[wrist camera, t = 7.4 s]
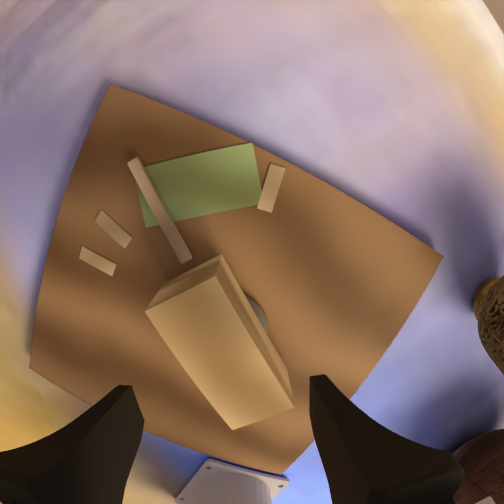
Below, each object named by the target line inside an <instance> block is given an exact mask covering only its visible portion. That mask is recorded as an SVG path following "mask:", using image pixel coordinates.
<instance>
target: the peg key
mask: <svg viewBox="0 0 504 504" xmlns="http://www.w3.org/2000/svg"><path fill="white" fill-rule="evenodd" d="M127 164H128V166H129V168H130V170H131V172H132V174H133V176H134V178H135V180H136V181H137V183H138V185H139V187H140V189H141V191H142V193H143V195H144V197H145V199H146V201H147V202H148V204H149V206H150V208H151V210H152V212H153V214H154V215H155V217H156V219H157V221H158V223H159V225H160V226H161V228H162V230H163V232H164V234H165V235H166V237H167V239H168V241H169V243H170V244H171V246H172V248H173V250H174V251H175V253H176V255H177V257H178V258H179V260H180V262H181V264H183V263H185V262H187V261H188V260H190V259H192V257H193V256H192V255H191V253H190V251H189V249H188V248H187V246H186V244H185V242H184V240H183V239H182V237H181V235H180V233H179V231H178V230H177V228H176V226H175V224H174V222H173V221H172V219H171V217H170V215H169V213H168V211H167V210H166V208H165V206H164V204H163V202H162V200H161V198H160V197H159V195H158V193H157V191H156V189H155V187H154V185H153V183H152V181H151V179H150V178H149V176H148V174H147V172H146V170H145V168H144V166H143V164H142V162H141V160H140V158H139V157H136V158H134V159H133V160H131V161H130V162H128V163H127ZM145 313H146V314H147V316H148V317H149V319H150V320H151V322H152V323H153V325H154V326H155V328H156V329H157V331H158V332H159V334H160V335H161V337H162V338H163V340H164V341H165V343H166V344H167V346H168V347H169V348H170V350H171V351H172V353H173V354H174V355H175V357H176V358H177V360H178V361H179V362H180V364H181V365H182V367H183V368H184V369H185V371H186V372H187V373H188V375H189V376H190V377H191V379H192V380H193V381H194V383H195V384H196V385H197V387H198V388H199V389H200V391H201V392H202V393H203V395H204V396H205V397H206V398H207V400H208V401H209V402H210V404H211V405H212V406H213V407H214V409H215V410H216V411H217V412H218V413H219V415H220V416H221V417H222V418H223V420H224V421H225V422H226V423H227V424H228V426H229V427H230V428H231V429H232V430H234V429H237V428H240V427H243V426H246V425H249V424H252V423H255V422H258V421H261V420H263V419H266V418H269V417H272V416H274V415H277V414H279V413H282V412H285V411H287V410H290V409H292V408H295V407H294V402H293V397H292V391H291V386H290V381H289V376H288V371H287V368H286V366H285V364H284V363H283V361H282V359H281V357H280V356H279V354H278V352H277V351H276V349H275V347H274V345H273V344H272V342H271V340H270V339H269V337H268V335H267V332H268V326H267V319H266V315H265V312H264V310H263V308H262V307H261V305H260V304H259V303H258V302H257V301H256V300H255V299H254V298H252V297H251V296H250V295H248V294H246V293H243V291H242V289H241V288H240V286H239V284H238V282H237V280H236V279H235V277H234V275H233V273H232V272H231V270H230V268H229V266H228V264H227V263H226V261H225V259H224V257H223V255H222V254H220V255H218V256H216V257H214V258H212V259H211V260H209V261H207V262H205V263H203V264H201V265H199V266H197V267H195V268H193V269H191V270H189V271H187V272H185V273H183V274H181V275H179V276H177V277H175V278H173V279H171V280H169V281H168V282H166V283H164V284H163V285H162V286H161V288H160V289H159V291H158V292H157V294H156V295H155V297H154V298H153V300H152V301H151V303H150V304H149V305H148V307H147V308H146V310H145Z"/></svg>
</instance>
